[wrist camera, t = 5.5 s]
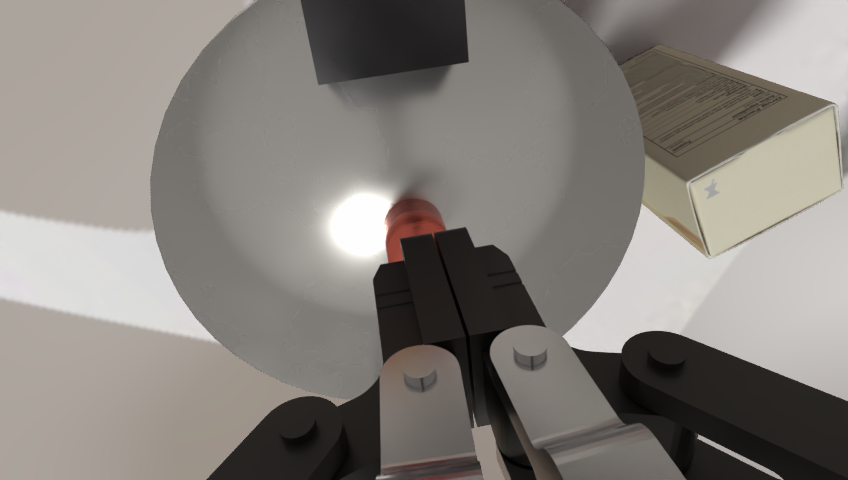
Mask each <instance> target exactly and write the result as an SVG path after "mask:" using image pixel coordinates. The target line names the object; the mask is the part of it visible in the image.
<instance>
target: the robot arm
mask: <svg viewBox="0 0 848 480" xmlns="http://www.w3.org/2000/svg"><path fill="white" fill-rule="evenodd" d="M433 237H434V239H433ZM400 246H401V252H402V259H403V261H397V262H391V263H386V264H380V266H379V268H378V270H377V272H376V274H375V276H374V278H373V286H374V294H375V302H376V309H377V317H378V325H379V333H380V340H381V348H382V356H383V367H382V369H381V372H380V376H379V377H378V379H377V381H376V382H375V383H374V384H373V385H372V386H371V387H370V388H369V389H368V390H367V391H366V392H364V393H363V394H361V395H360V396H358V397H356V398H354V399H352V400H350V401H348V402H346V403H344V404H342V405H340V406H338V407H337V406H335V404H333V403H332V402H331V401H329V400H327V399H324V398H321V397H315V396H309V397H308V396H306V397H299V398H296V399H292V400H290V401H287V402H285V403H283V404H281V405H279V406H278V407H277V408H275V409H274V410H272V411H271V412H270V413H269V414H268V415H267V416H266V417H265V418H264V419H263V420H262V421H261V422H260V423H259V424H258V425H257V426H256V428H255V429H254V430H253V431H252V432H251V433H250V434H249V435H248V436H247V437H246V438H245V439H244V440H243V441H242V443H241V444H240V445H239V446H238V447H237V448H236V449H235V450H234V451H233V452H232V453H231V454H230V455H229V456H228V457H227V458H226V459H225V461H224V462H223V463H222V464H221V465H220V466H219V467H218V468H217V469H216V470H215V471H214V472H213V473H212V474H211V475H210V477H209V478H208V479H207V480H484V479H483V474H482V470H481V465H480V462H479V461H478V460H477V456H476V451H475V445H474V440H473V435H472V429H471V428H474V421H473V413H474V417H475V420H476V424H477V426H478V427H480V426H485V425H490V424H491V427H492V430H493V433H494V436H495V439H496V455H497V461H498V464H499V466H500V469H501V471H502V474H503V476H504V478H505V480H780V479H777V478H775V477H772V476H770V475H768V474H766V473H764V472H762V471H760V470H758V469H756V468H754V467H752V466H750V465H748V464H746V463H744V462H742V461H740V460H738V459H736V458H735V457H732V456H731V455H729V454H727V453H725V452H723V451H721V450H718V449H716V448H715V447H713V446H711V445H709V444H706V443H705V442H703V441H701V440H699V439H697V438H698V434H699V435H701V436H703V437H705V438H707V439H709V440H711V441H713V442H715V443H717V444H719V445H721V446H724V447H725V448H727V449H729V450H731V451H734V452H735V453H738V454H740V455H741V456H744V457H746V458H748V459H750V460H752V461H754V462H756V463H758V464H760V465H762V466H764V467H766V468H768V469H770V470H771V471H773V472H775V473H776V474H778V475H779V476H780V477H782V478H783V479H784V480H848V401H846V400H843V399H841V398H838V397H836V396H833V395H831V394H828V393H825V392H823V391H820V390H818V389H815V388H813V387H810V386H808V385H805V384H803V383H800V382H798V381H795V380H793V379H790V378H788V377H785V376H783V375H780V374H778V373H775V372H772V371H770V370H768V369H765V368H762V367H760V366H757V365H755V364H752V363H750V362H747V361H745V360H742V359H740V358H737V357H735V356H732V355H730V354H727V353H725V352H722V351H720V350H717V349H714V348H712V347H709V346H707V345H704V344H702V343H699V342H697V341H694V340H692V339H689V338H687V337H684V336H682V335H679V334H675V333H671V332H665V331H648V332H643V333H640V334H637V335H635V336H633V337H631V338H630V339H629V340H628V341H627V342H626V343H625V344H624V346H623V348H622V353H606V352H591V351H584V350H579V349H576V348H573V347H570V345H569V344H568V342H567V341H566V340H565V339H564V338H563V337H562V336H561V335H560V334H558V333H557V332H555V331H553V330H551V329H548V328H546V326H545V324H544V322H543V320H542V318H541V316H540V315H539V313H538V311H537V309H536V307H535V305H534V303H533V301H532V299H531V297H530V296H529V294H528V292H527V290H526V288H525V286H524V284H522V280H521V278H520V277H519V275H518V273H516V269H515V267H514V265H513V263H512V261H511V259H510V258H509V256H508V255H507V254H506V253H504V252H503V251H501V250H500V249H499V248H497V247H496V246H494V245H493V244H492V245H486V246H481V247H475V246H474V244H473V242H472V239H471V237H470V235H469V233H468V230H467V228H466V227H462V228H457V229H451V230H445V231H439V232H434V234H433V236H432V233H429V234H423V235H417V236H411V237H406V238H400Z"/></svg>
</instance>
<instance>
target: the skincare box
mask: <svg viewBox="0 0 848 480" xmlns="http://www.w3.org/2000/svg"><path fill="white" fill-rule="evenodd" d="M619 67H620V69H621V70H622V72H623V74H624V76H625V79H626V81H627V83H628V86H629V88H630V90H631V93H632V95H633V97H634V100H635V103H636V107H637V111H638V115H639V119H640V122H641V126H642V132H643V141H644V150H645V180H644V191H643V196H642V202H641V203H642V204H643V205H644V206H646V207H647V208H648V209H649V210H650V211H652V212H653V213H654V214H655V215H656V216H658V217H659V218H660V219H661V220H662V221H664V222H665V223H666V224H667V225H668V226H670V227H671V228H672V229H673V230H674V231H676V232H677V233H678V234H679V235H681V236H682V237H683V238H684V239H685V240H687V241H688V242H689V243H690V244H691V245H693V246H694V247H695V248H696V249H697V250H699V251H700V252H701V253H702V254H704V255H705V256H706V257H707V258H709V259H712V258H715V257H716V256H718V255H720V254H723V253H725V252H727V251H729V250H731V249H733V248H735V247H737V246H739V245H741V244H743V243H745V242H747V241H749V240H751V239H753V238H755V237H757V236H759V235H761V234H762V233H764V232H766V231H768V230H770V229H772V228H774V227H776V226H778V225H780V224H782V223H784V222H785V221H787V220H789V219H791V218H793V217H795V216H797V215H798V214H800V213H802V212H804V211H806V210H808V209H810V208H811V207H813V206H815V205H817V204H819V203H821V202H822V201H824V200H826V199H827V198H829V197H831V196H833V195H835V194H837V193H839V192H841V191H842V190H843V175H842V152H841V142H840V126H839V115H838V106H837V105H836V104H835V103H833V102H830V101H827V100H824V99H821V98H818V97H815V96H812V95H809V94H806V93H803V92H799V91H797V90H794V89H791V88H788V87H785V86H782V85H779V84H776V83H773V82H770V81H767V80H764V79H761V78H759V77H756V76H752V75H749V74H746V73H744V72H741V71H738V70H735V69H732V68H729V67H726V66H723V65H720V64H717V63H714V62H711V61H708V60H705V59H702V58H699V57H696V56H693V55H690V54H687V53H684V52H681V51H678V50H675V49H672V48H669V47H667V46H664V45H657V46H655V47H653V48H651V49H649V50H647V51H645V52H643V53H642V54H640V55H638V56H636V57H634V58H633V59H631V60H629V61H627V62H625V63H624V64H622V65H620V66H619Z"/></svg>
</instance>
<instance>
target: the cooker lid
mask: <svg viewBox="0 0 848 480" xmlns="http://www.w3.org/2000/svg"><path fill="white" fill-rule="evenodd" d="M150 180H151V212H152V219H153V223H154V230H155V235H156V241H157V244H158V247H159V250H160V253H161V256H162V259H163V262H164V264H165V267H166V270H167V272H168V274H169V276H170V278H171V280H172V282H173V284H174V285H175V287H176V289H177V291H178V293H179V295H180V296H181V298H182V299H183V301H184V302H185V304H186V305H187V306H188V308H189V309H190V311H191V312H192V313H193V315H194V316H195V318H196V319H197V320H198V321H199V322H200V323H201V324H202V325H203V326H204V327H205V328H206V330H207V331H208V332H209V333H210V334H211V335H212V336H213V337H214V338H215V339H216V340H217V341H219V342H220V343H221V344H222V345H223V346H225V347H226V348H227V349H228V350H229V351H231V352H232V353H233V354H234V355H236V356H237V357H239V358H240V359H242V360H243V361H245V362H246V363H248V364H249V365H251V366H253V367H254V368H256V369H257V370H259V371H261V372H263V373H265V374H267V375H269V376H271V377H273V378H275V379H277V380H279V381H281V382H284V383H286V384H290V385H292V386H295V387H297V388H301V389H303V390H306V391H309V392H313V393H317V394H322V395H325V396H330V397H334V398H342V399H348V400H352V399H354V398H356V397H358V396H360V395H361V394H363V393H364V392H366V391H367V390H368V389H369V388H370V387H371V386H372V385H373V384H374V383H375V382H376V381H377V379H378V377H379V376H380V372H381V369H382V367H383V356H382V348H381V340H380V333H379V325H378V317H377V309H376V302H375V294H374V286H373V278H374V276H375V274H376V272H377V270H378V268H379V266H380V264H386V263H391V262H397V261H403V259H402V252H401V246H400V238H406V237H411V236H417V235H423V234H429V233H432V236H433V234H434V232H439V231H445V230H451V229H457V228H462V227H466V228H467V230H468V233H469V235H470V237H471V239H472V242H473V244H474V246H475V247H481V246H486V245H492V244H493V245H494V246H496V247H497V248H499V249H500V250H501V251H503V252H504V253H506V254H507V255H508V256H509V258H510V259H511V261H512V263H513V265H514V267H515V269H516V273H518V275H519V277H520V278H521V280H522V284H524V286H525V288H526V290H527V292H528V294H529V296H530V297H531V299H532V301H533V303H534V305H535V307H536V309H537V311H538V313H539V315H540V316H541V318H542V320H543V322H544V324H545V326H546V328H548V329H551V330H553V331H555V332H557V333H558V334H560V335H561V336H563V335H564V334H565V333H566V332H568V331H569V330H570V329H571V328H572V327H573V326H574V325H575V324H576V323H577V322H578V321H579V320H580V319H581V318H582V317H583V316H584V315H585V314H586V312H587V311H588V310H589V309H590V308H591V307H592V306H593V304H594V303H595V302H596V300H597V299H598V298H599V296H600V295H601V294H602V292H603V291H604V290H605V289H606V287H607V286H608V284H609V282H610V281H611V279H612V277H613V276H614V274H615V272H616V271H617V269H618V267H619V266H620V264H621V262H622V260H623V257H624V255H625V253H626V251H627V248H628V246H629V244H630V242H631V239H632V236H633V233H634V230H635V227H636V223H637V220H638V217H639V214H640V208H641V202H642V196H643V191H644V180H645V150H644V141H643V132H642V126H641V122H640V119H639V115H638V111H637V107H636V103H635V100H634V97H633V95H632V93H631V90H630V88H629V86H628V83H627V81H626V79H625V76H624V74H623V72H622V70H621V69H620V67H619V66H618V64H617V62H616V61H615V59H614V58H613V56H612V54H611V53H610V51H609V50H608V48H607V46H606V45H605V44H604V43H603V42H602V40H601V39H600V38H599V37H598V36H597V35H596V34H595V32H594V31H593V30H592V29H591V28H590V27H589V25H588V24H587V23H586V22H585V21H584V20H583V19H582V18H581V17H579V16H578V15H577V14H576V13H575V12H573V11H572V10H571V9H570V8H569V7H567V6H566V5H565V4H564V3H563V2H561V1H560V0H255V1H254V2H252V3H251V4H250V5H248V6H247V7H246V8H245V9H243V10H242V11H241V12H239V13H238V14H237V15H235V16H234V18H233V19H232V20H231V21H230V22H229V23H228V24H227V25H226V26H225V27H224V28H223V29H222V30H221V31H220V32H219V33H218V34H217V35H216V36H215V37H214V39H212V40H211V42H210V43H209V44H208V45H207V46H206V47H205V48H204V49H203V50H202V52H201V53H200V55H199V56H198V58H197V59H196V60H195V62H194V63H193V65H192V66H191V68H190V69H189V70H188V72H187V73H186V75H185V76H184V77H183V79H182V80H181V82H180V84H179V86H178V88H177V90H176V92H175V94H174V96H173V98H172V100H171V102H170V104H169V106H168V109H167V110H166V113H165V116H164V119H163V122H162V125H161V129H160V132H159V135H158V138H157V141H156V145H155V151H154V157H153V164H152V172H151V179H150ZM433 239H434V237H433Z"/></svg>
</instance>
